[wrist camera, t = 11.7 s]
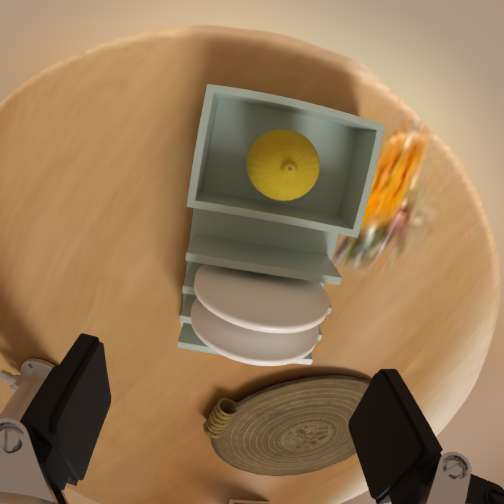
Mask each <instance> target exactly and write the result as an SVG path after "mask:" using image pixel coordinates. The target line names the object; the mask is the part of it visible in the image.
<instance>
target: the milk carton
mask: <svg viewBox="0 0 504 504" xmlns="http://www.w3.org/2000/svg"><path fill="white" fill-rule="evenodd" d="M229 504H270V501H248V500H234V499H230V501H229Z"/></svg>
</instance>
